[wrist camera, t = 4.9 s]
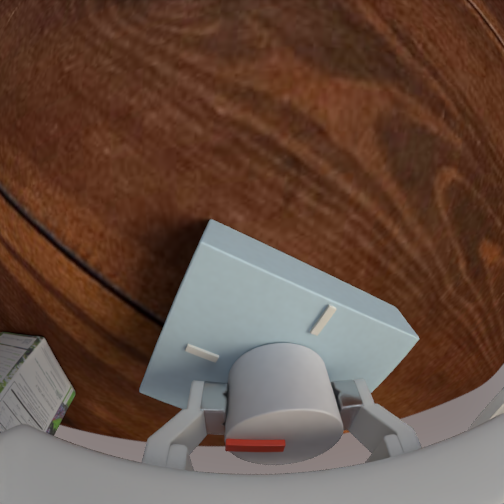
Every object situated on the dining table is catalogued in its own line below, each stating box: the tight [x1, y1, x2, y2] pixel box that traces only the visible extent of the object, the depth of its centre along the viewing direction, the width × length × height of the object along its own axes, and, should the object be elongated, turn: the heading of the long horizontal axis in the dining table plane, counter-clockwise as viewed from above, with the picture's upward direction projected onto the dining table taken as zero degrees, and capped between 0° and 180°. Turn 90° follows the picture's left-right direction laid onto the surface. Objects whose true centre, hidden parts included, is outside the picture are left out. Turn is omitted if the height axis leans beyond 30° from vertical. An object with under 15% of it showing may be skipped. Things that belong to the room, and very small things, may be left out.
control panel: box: [139, 219, 419, 409], centre depth 13 cm, size 11×9×3 cm
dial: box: [225, 343, 343, 465], centre depth 10 cm, size 4×4×4 cm
